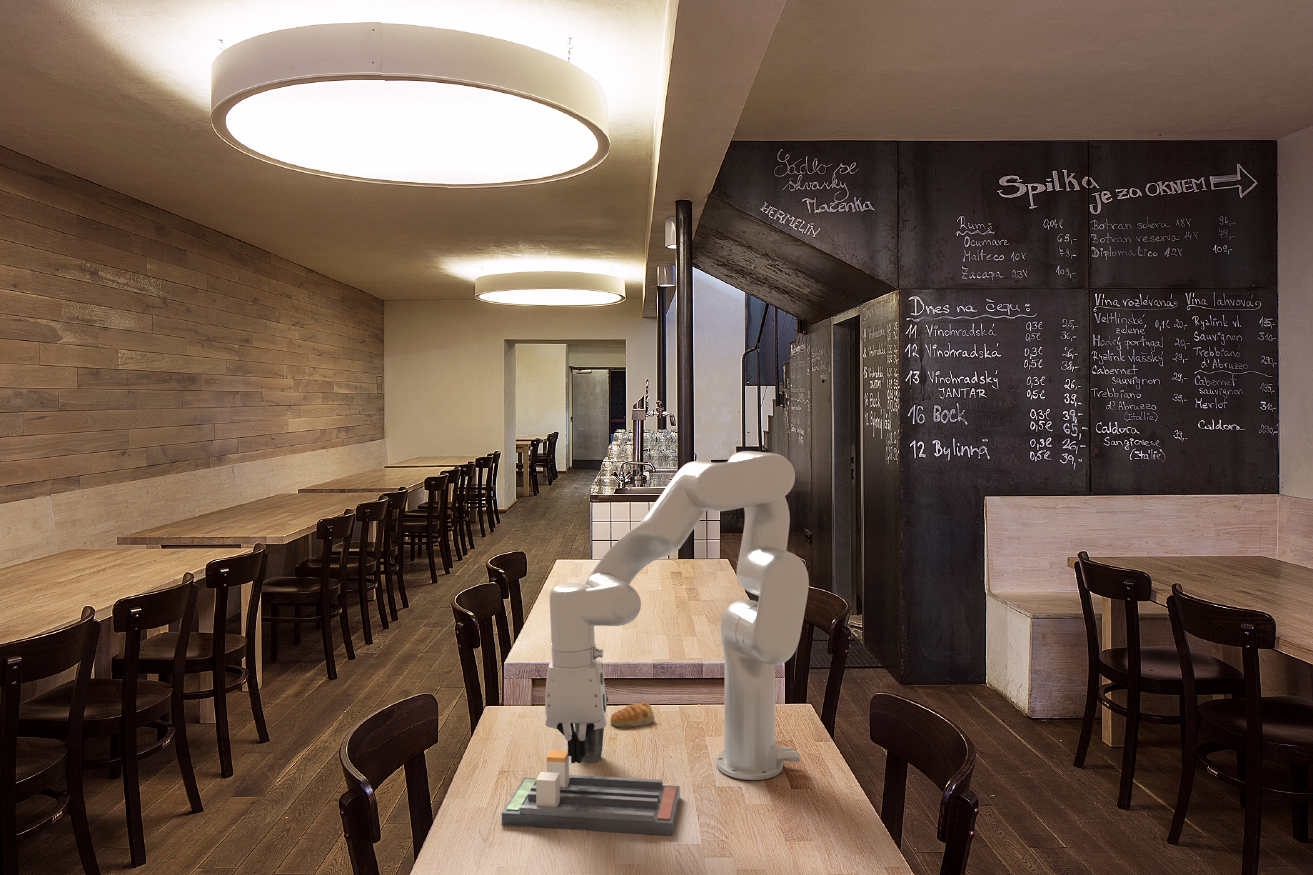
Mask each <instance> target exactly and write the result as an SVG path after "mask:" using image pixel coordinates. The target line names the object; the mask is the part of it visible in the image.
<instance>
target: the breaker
mask: <svg viewBox="0 0 1313 875" xmlns="http://www.w3.org/2000/svg"><path fill="white" fill-rule="evenodd" d="M536 778H537V779H536V806H550V807H558V805H559V803H560V773H554V772H547V771H540V773H539V774H538V776H537V777H536Z"/></svg>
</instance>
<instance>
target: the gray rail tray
mask: <svg viewBox="0 0 1313 875" xmlns="http://www.w3.org/2000/svg"><path fill="white" fill-rule="evenodd" d="M537 778H538V777H524V778H523V779H522V781H521V782H520V783H519V786H518V787H517V789H516V790H515V792H514V793H513V795H512V796H511V798H510V799H509V801H508V802H507V803H506V806H505V807H504V809H503V810H502V812H501V826H511V827H530V828H542V829H543V828H544V829H547V828H548V829H561V830H572V831H573V830H576V831H588V832H589V831H590V832H604V833H605V832H606V833H608V832H609V833H623V834H638V835H639V834H640V835H641V834H642V835H651V836H652V835H653V836H654V835H656V836H673V834H674V828H675V822H676V818H677V813H678V809H679V804H680V797H681V787H680V785H666V784H663V783H664V780H663V779H653V778H637V777H636V778H634V777H620V776H619V777H618V776H617V777H616V776H597V775H596V776H595V775H582V774H581V775H579V774H569V784H568V786H567V787H560V803H559V805H558V807H550V806H536V779H537Z"/></svg>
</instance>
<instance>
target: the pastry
mask: <svg viewBox="0 0 1313 875" xmlns="http://www.w3.org/2000/svg"><path fill="white" fill-rule="evenodd" d="M655 720H656V719H655V714H654V712H653V709H652V706H651V705H650V704H649V703H648V702H647V701H645V702H644V701H641V702H640V703H634V704H628V705H626V706H625V707H624V708H622V709H619V710H617V711H615V712H614V713H613V714H611V717H610V724H612V725H613V726H616V727H618V728H635V727H641V726H646V725H650V724H653V723H654V721H655Z"/></svg>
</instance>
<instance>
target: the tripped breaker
mask: <svg viewBox="0 0 1313 875" xmlns="http://www.w3.org/2000/svg"><path fill="white" fill-rule="evenodd" d="M569 766H570V756H568V750H560V749H551V750H550V751H549V752H548V755H547V756H546V772H554V773H560V787H567V786H568V784H569V775H570V767H569Z"/></svg>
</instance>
